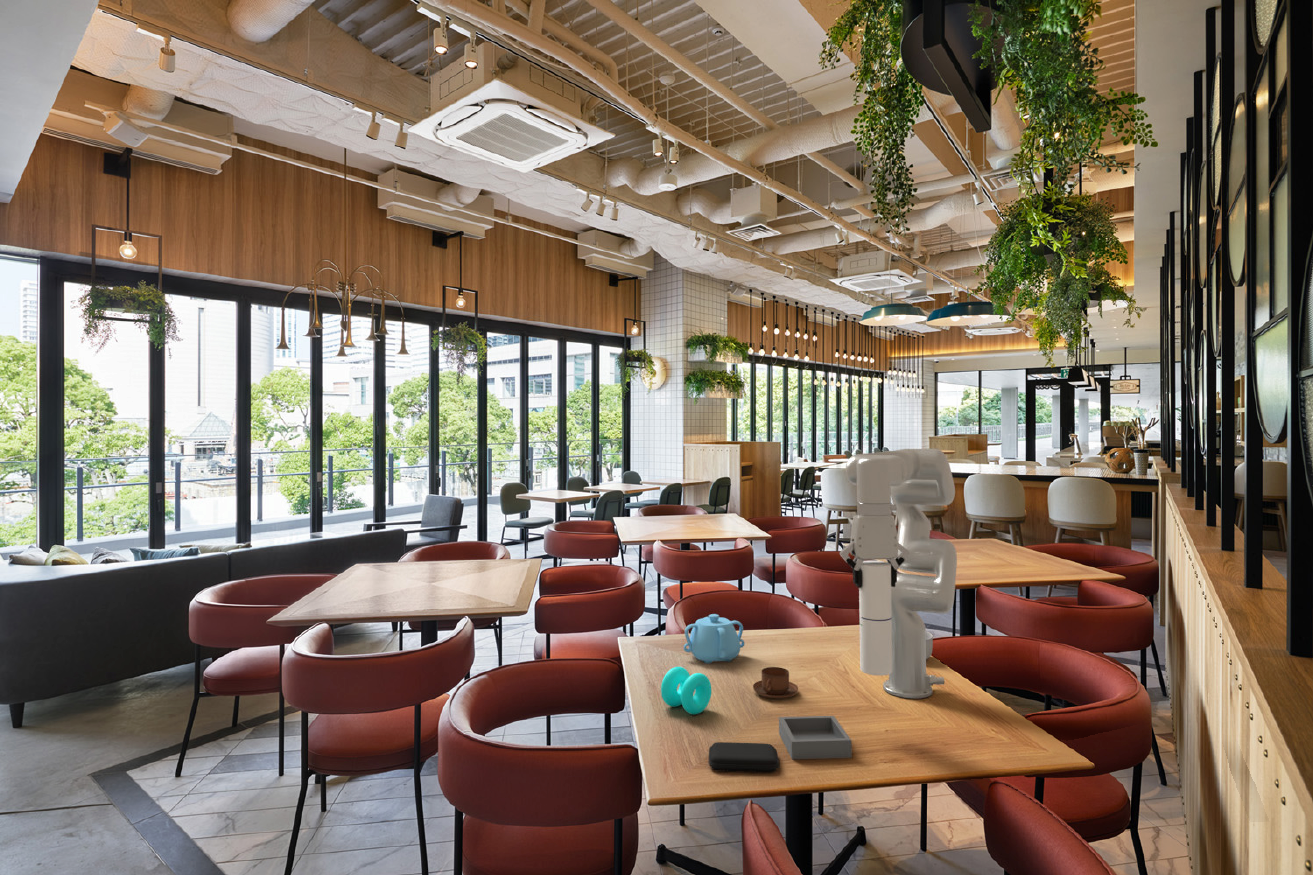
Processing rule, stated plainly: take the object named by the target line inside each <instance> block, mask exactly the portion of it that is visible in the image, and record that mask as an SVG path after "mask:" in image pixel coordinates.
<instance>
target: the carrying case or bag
mask: <svg viewBox="0 0 1313 875" xmlns="http://www.w3.org/2000/svg"><path fill="white" fill-rule="evenodd" d="M708 765H709V766H710V767H711V769H712V770H713V771H717V772H733V773H761V774H762V773H763V774H767V773H768V774H770V773H771V774H772V773H775V772H776V771H777V770H778V769H779V767H780V760H779V755H778V750H777V748H775V747H774V745H772V744H771V743H764V742H763V743H761V742H760V743H759V742H757V743H756V742H729V741H728V742H725V741H719V742H717V741H716V742H714V743H713V744H712V745H711V746H710V747H709V749H708Z"/></svg>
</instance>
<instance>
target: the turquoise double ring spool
mask: <svg viewBox="0 0 1313 875" xmlns="http://www.w3.org/2000/svg"><path fill="white" fill-rule="evenodd" d="M678 686H679V687H678ZM660 693H661V698H662V700H663V702H664V704H666V705H667V706H669V707H673V708H675V707H680V706H681V705H682V708H683V709H684V711H685V712H686V713H687V714H690V715H699V714H700V713H702V712H703V711H705V710H706V708H707V707H708V705H709V703H710V700H711V698H712V683H711V680H710V679H709V678H708V676H707V675H706V674H704V673H701V672H695V673H692V674H691V675H690V673H689V671H688V670H687V669H686V668H685V667H682V666H674V667H673V668H670V669H669V670H668V671H667V672H666V673H665V675H664V677H663V679H662V681H661V685H660Z"/></svg>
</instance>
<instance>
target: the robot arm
mask: <svg viewBox="0 0 1313 875" xmlns="http://www.w3.org/2000/svg"><path fill="white" fill-rule="evenodd" d="M845 474H846V479H847V480H848V482H849V483H850V484H852V485H853V486H856V502H857V503H856V505H857V506H856V507H857V508H856V512H857V513H856V514H857V515H855V514H854V515H853V517H852V523H851V529H850V530H851V532H850V541H849V542H850V543H849V544H847V545H846V546H845V547H844V548H843V549H842V550H841V551H839V555H840V557H841V558H842V559H843V560H844V561H845V563H846V564H847V565H848V566H849V567H851V569H852V582H853V584H854V585H855V587H857V588H858V589H859V588H861V587H862V571H861V570H860V567H861V565H862V563H863V561H877V560H886V562H888V563H890V564H891V613H892V617H891V618H892V673H891V674H889V675H888V679H887V680H885V681H884V682H883V683H882V686H883V687H882V688H883V690H884V691H885V692H886V693H888V694H890V695H893V696H896V697H899V698H905V699H914V700H915V699H916V700H917V699H924V698H929V697H930V696H932V695H933V688H932V687H933V686H934V685H940V686H941V685H945V682H946V681H945V678H944V677H943V676H936V675H934V674H929V675H928V673H927V659H926V631H927V630H926V624H925V623H924V621H923V619H922V618H921V616H920V615H919V613H918V612H922V613H931V614H941V615H944V614H945V615H946V614H948V613H950V612H951V611H952V609H953V606H954V603H955V602H954V601H955V592H956V579H957V568H958V567H957V565H958V558H957V557H958V556H957V550H956V547H955V545H954V544H953V542H951V541H950V540H947V539H942V538H941V539H939V538H930V536H931V535H930V534H931V522H930V520H929V519H928V517H927V516H926V514H925V513H924V512H923V511H922V510H921V509H920V508H919V506H917V505H921V506H942V507H943V506H949V505H950V504H952V503H953V501H954V499H955V495H956V488H955V482H954V477H953V472H952V469H951V465H950V463H949V460H948V457H947V455H946V454H945V453H944V452H943V451H942V450H941V449H938V448H901V449H896V450H888V451H887V450H885V451H879V452H868V453H859V454H853V455H851V456H850V457H849V458H848V460H847V462H846V466H845ZM894 511H895V513H896V517H897V521H898V527H897V526H896V521H895V517H894V515H893V512H894ZM849 554H850V555H851V556H854V558H853V560H852V558H851V557H850V555H849ZM899 569H900V570H902V571H907V572H912V573H898V570H899ZM914 573H919V574H914ZM920 573H922V574H932V575H933V576H932V575H921V574H920ZM934 575H935V576H934Z"/></svg>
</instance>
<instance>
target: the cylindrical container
mask: <svg viewBox="0 0 1313 875" xmlns="http://www.w3.org/2000/svg"><path fill="white" fill-rule="evenodd" d="M860 570H861V571H862V587H861V588H858V590H859V591H858V594H859V595H858V599H859V600H858V602H859V606H858V607H859V609H858V610H859V665H860V666H859V668H860V671H861V672H862V673H864V674H867V675H872V676H881V677H882V676H889V674H891V673H892V618H891V617H892V613H891V564H890V563H888V562H887V561H883V560H864V561H863V563H862V565H861V567H860Z"/></svg>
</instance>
